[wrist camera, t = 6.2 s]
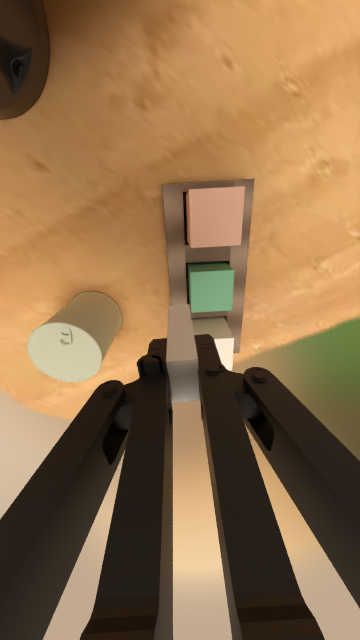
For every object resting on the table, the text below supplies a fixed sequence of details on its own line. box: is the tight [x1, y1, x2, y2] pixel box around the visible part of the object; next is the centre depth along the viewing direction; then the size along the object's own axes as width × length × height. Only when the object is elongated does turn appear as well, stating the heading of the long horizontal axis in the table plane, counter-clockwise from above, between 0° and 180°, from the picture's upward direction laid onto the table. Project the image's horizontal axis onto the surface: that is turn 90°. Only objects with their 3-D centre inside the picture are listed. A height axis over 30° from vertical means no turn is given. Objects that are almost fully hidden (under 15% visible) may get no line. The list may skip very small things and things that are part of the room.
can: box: [27, 291, 122, 382], centre depth 32 cm, size 9×9×12 cm
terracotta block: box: [186, 186, 245, 248], centre depth 25 cm, size 5×5×7 cm
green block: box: [187, 261, 234, 313], centre depth 30 cm, size 5×5×7 cm
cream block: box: [191, 316, 234, 371], centre depth 32 cm, size 5×5×7 cm
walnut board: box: [162, 179, 254, 353], centre depth 32 cm, size 25×11×4 cm, turn 3°
